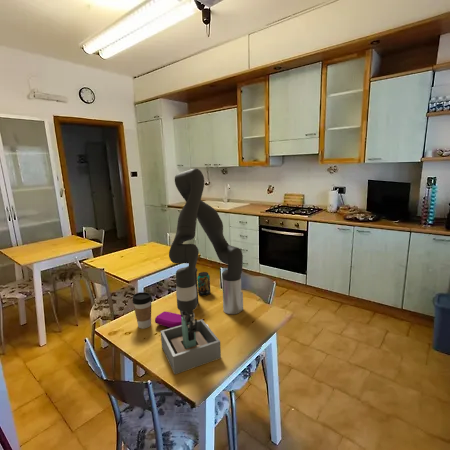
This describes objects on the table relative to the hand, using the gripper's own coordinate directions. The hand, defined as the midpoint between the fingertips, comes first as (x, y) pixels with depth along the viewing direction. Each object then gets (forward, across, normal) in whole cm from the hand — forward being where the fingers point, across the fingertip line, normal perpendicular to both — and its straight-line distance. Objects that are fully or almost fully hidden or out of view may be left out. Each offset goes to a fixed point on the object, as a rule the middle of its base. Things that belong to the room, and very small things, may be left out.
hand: (189, 336), depth 108 cm
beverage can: (+7, +46, -25) cm, 53 cm away
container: (+7, +38, -14) cm, 41 cm away
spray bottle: (+7, +19, -3) cm, 21 cm away
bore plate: (+7, 0, 0) cm, 7 cm away
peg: (+4, 0, 0) cm, 4 cm away
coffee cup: (+7, +29, +12) cm, 32 cm away
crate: (+7, 0, 0) cm, 7 cm away
